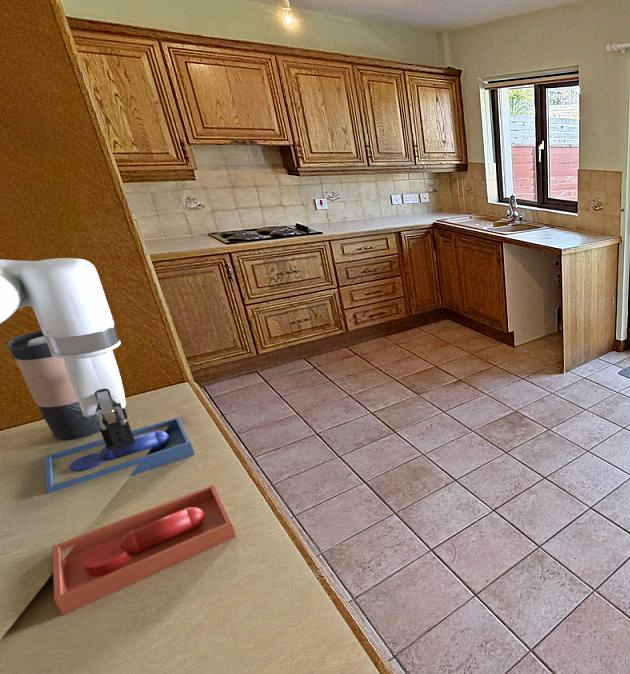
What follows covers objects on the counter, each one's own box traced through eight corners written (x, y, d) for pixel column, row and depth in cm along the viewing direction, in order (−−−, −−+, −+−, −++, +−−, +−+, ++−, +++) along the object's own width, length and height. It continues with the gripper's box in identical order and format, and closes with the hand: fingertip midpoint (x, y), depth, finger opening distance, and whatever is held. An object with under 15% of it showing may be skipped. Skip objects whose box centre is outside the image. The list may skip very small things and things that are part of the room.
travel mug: (115, 420, 92) (74, 325, 84) (117, 437, 87) (73, 338, 79) (58, 435, 87) (8, 335, 79) (56, 454, 82) (3, 350, 74)
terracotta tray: (236, 536, 68) (232, 523, 67) (62, 615, 56) (53, 600, 55) (218, 496, 75) (214, 484, 74) (59, 560, 63) (52, 546, 62)
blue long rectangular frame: (195, 454, 84) (190, 442, 83) (52, 502, 72) (45, 489, 71) (183, 427, 91) (179, 416, 90) (51, 468, 79) (44, 455, 78)
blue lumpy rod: (169, 438, 87) (164, 423, 86) (173, 448, 84) (168, 433, 83) (72, 468, 78) (64, 452, 77) (73, 481, 76) (65, 465, 74)
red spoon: (203, 513, 71) (197, 496, 70) (210, 529, 68) (203, 512, 67) (86, 561, 62) (76, 544, 61) (88, 582, 60) (78, 564, 58)
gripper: (46, 328, 75) (82, 420, 82) (49, 365, 65) (90, 467, 71) (112, 319, 81) (141, 405, 87) (124, 351, 70) (156, 447, 77)
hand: (118, 433), depth 79 cm, fingers open, 9 cm apart
